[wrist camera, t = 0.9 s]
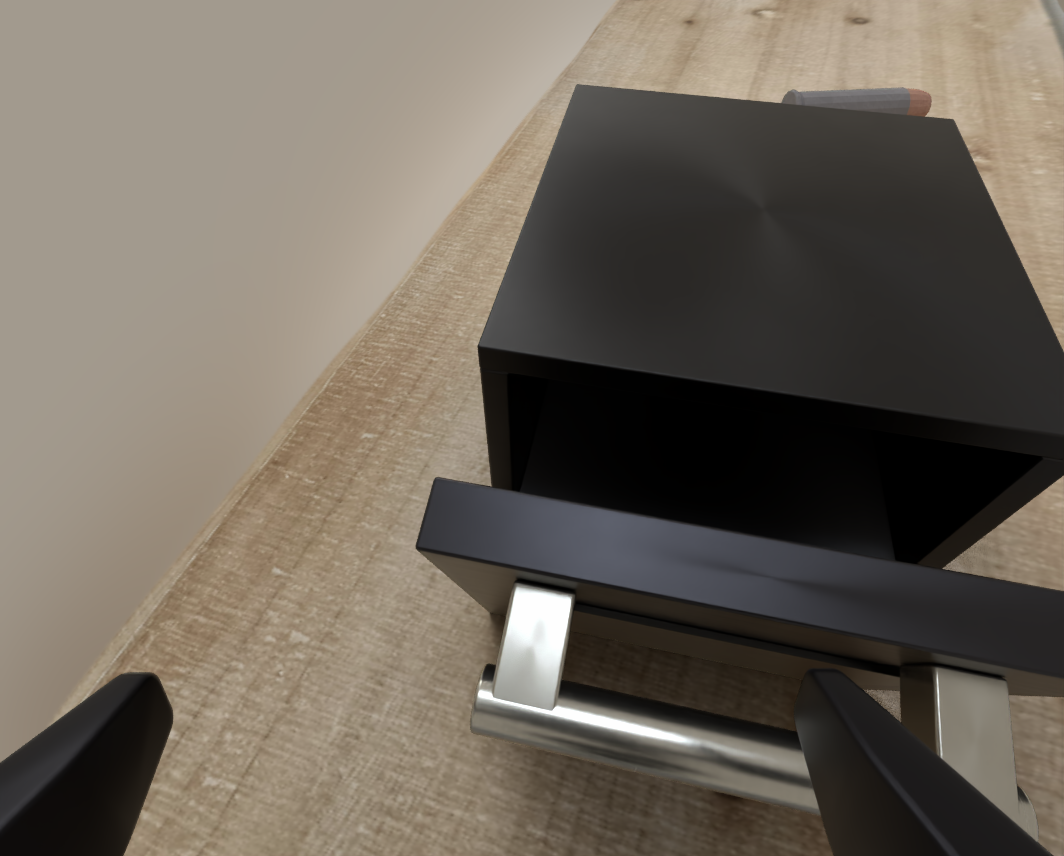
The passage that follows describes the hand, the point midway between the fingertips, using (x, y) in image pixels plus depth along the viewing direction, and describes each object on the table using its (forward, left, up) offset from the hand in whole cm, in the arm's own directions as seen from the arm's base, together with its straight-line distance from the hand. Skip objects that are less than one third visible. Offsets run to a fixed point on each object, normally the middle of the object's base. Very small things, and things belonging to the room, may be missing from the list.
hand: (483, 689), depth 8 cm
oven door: (+3, -7, -15) cm, 16 cm away
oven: (+12, -11, -14) cm, 22 cm away
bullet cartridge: (+39, -37, -15) cm, 56 cm away
